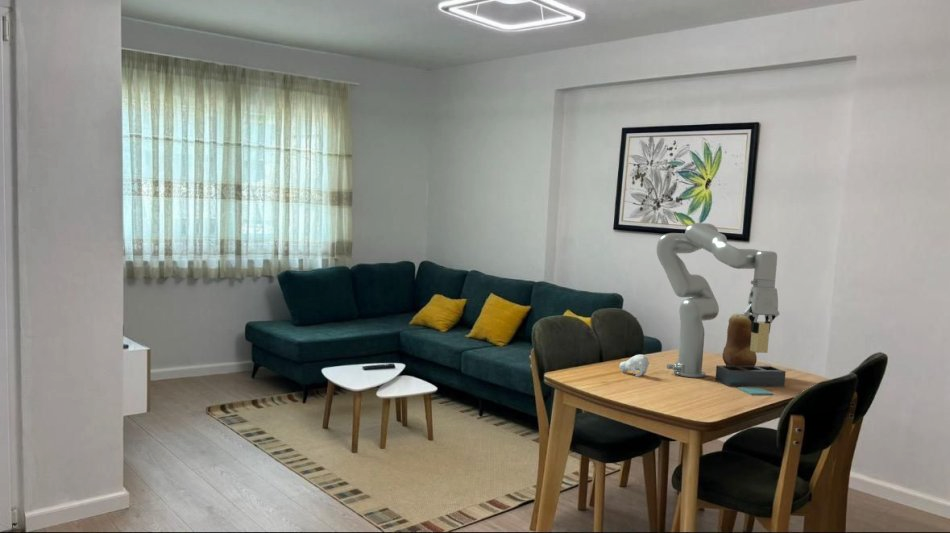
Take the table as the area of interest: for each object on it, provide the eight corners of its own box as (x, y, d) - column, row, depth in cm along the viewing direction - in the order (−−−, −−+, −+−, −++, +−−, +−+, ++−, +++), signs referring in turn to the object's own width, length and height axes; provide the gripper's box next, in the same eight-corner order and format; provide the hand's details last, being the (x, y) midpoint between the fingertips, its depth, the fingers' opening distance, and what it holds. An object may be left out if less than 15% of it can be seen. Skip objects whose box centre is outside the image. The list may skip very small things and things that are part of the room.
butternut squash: (762, 376, 301) (767, 316, 299) (736, 377, 296) (741, 316, 294) (738, 368, 313) (743, 311, 311) (713, 369, 308) (718, 311, 306)
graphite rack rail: (729, 386, 278) (730, 371, 278) (715, 380, 288) (716, 365, 288) (784, 386, 283) (785, 371, 283) (769, 380, 293) (770, 365, 293)
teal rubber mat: (751, 395, 266) (751, 393, 266) (737, 388, 275) (737, 387, 275) (773, 394, 268) (773, 393, 268) (758, 388, 277) (758, 387, 277)
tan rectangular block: (756, 352, 268) (759, 323, 267) (750, 350, 272) (752, 321, 271) (767, 352, 269) (769, 323, 268) (760, 350, 273) (762, 321, 272)
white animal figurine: (643, 356, 285) (615, 354, 292) (643, 377, 285) (616, 375, 292) (650, 354, 290) (623, 352, 297) (650, 375, 290) (623, 372, 297)
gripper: (749, 284, 263) (745, 334, 265) (790, 285, 267) (786, 334, 268) (738, 282, 270) (734, 330, 272) (778, 283, 274) (774, 331, 275)
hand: (760, 332), depth 270 cm, fingers closed on tan rectangular block, 4 cm apart
